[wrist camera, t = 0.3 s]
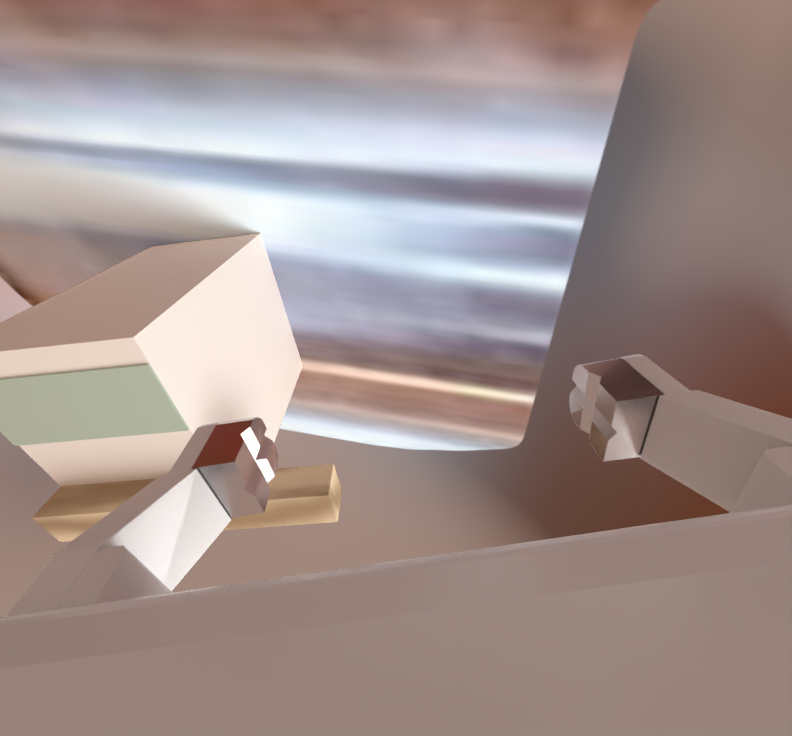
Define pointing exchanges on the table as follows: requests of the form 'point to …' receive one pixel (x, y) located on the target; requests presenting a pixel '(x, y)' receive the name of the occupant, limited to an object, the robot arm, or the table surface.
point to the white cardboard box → (147, 360)
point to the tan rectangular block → (287, 505)
